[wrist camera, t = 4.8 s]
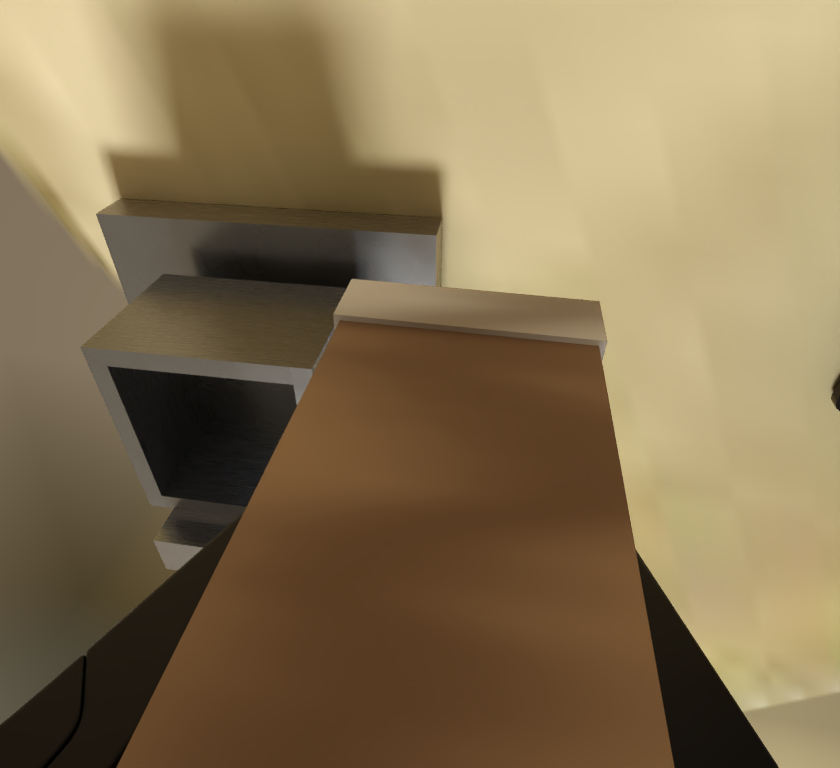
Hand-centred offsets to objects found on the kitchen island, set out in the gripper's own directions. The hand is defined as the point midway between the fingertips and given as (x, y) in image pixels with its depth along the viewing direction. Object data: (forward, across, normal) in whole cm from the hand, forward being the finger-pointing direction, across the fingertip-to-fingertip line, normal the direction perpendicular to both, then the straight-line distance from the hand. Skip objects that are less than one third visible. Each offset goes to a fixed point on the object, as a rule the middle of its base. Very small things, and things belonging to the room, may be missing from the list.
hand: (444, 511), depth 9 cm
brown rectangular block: (+3, 0, 0) cm, 3 cm away
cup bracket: (+13, +7, +7) cm, 17 cm away
